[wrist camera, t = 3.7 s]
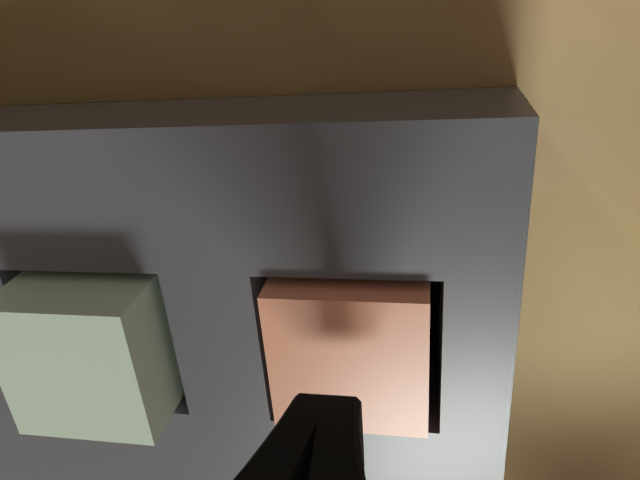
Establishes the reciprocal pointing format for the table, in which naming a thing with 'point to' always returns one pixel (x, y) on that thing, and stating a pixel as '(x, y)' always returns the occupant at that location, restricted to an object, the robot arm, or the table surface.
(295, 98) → the button panel
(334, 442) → the robot arm
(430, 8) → the table surface
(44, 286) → the sage button
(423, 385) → the terracotta button
